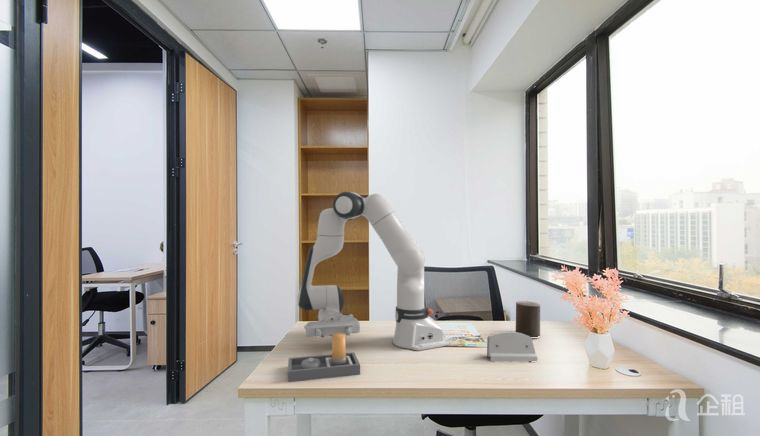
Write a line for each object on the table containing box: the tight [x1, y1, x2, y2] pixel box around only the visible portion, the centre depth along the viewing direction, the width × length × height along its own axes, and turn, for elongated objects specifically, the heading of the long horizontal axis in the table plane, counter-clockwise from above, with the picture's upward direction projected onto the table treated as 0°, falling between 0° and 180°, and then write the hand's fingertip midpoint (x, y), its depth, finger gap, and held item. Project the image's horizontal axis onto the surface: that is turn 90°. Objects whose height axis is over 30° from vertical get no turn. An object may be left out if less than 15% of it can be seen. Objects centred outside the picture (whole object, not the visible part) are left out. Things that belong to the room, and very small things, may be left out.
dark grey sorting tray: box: [287, 351, 361, 383], centre depth 111 cm, size 22×11×4 cm, turn 104°
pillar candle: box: [515, 299, 541, 337], centre depth 148 cm, size 10×10×15 cm
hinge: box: [486, 331, 538, 362], centre depth 123 cm, size 17×5×10 cm, turn 88°
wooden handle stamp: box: [331, 333, 347, 366], centre depth 113 cm, size 5×5×10 cm
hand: (335, 334), depth 123 cm, fingers open, 8 cm apart
